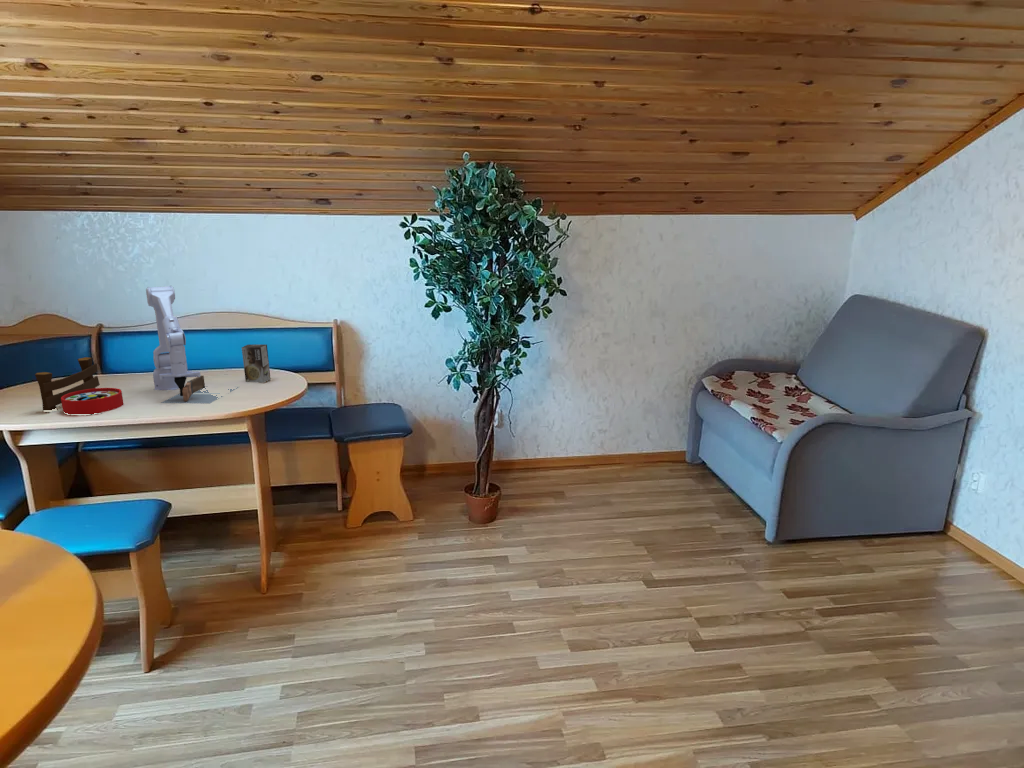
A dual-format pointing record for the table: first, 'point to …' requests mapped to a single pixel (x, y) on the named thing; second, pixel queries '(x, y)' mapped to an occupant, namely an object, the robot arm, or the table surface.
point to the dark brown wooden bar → (197, 384)
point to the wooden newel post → (187, 391)
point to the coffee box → (256, 363)
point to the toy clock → (92, 401)
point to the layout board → (195, 398)
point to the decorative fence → (66, 383)
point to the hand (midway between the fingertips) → (182, 395)
